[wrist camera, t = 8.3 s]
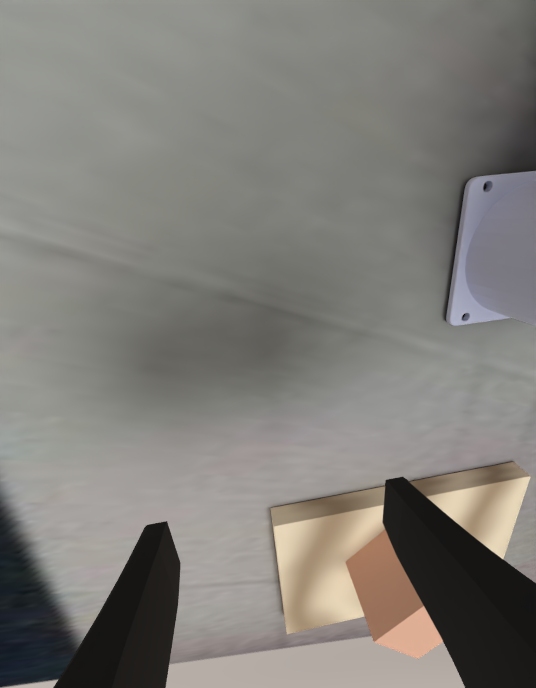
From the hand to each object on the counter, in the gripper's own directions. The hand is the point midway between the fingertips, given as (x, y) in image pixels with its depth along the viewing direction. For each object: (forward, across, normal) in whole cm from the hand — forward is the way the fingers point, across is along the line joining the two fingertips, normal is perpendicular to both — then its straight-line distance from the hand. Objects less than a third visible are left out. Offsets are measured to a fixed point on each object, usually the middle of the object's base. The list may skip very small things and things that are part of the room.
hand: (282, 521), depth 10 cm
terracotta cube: (+8, -9, +17) cm, 21 cm away
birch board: (+9, -10, +18) cm, 23 cm away
